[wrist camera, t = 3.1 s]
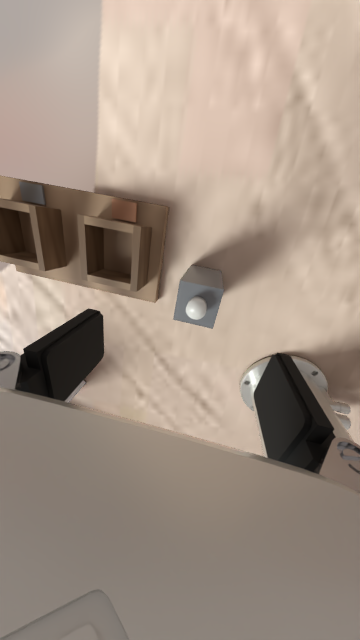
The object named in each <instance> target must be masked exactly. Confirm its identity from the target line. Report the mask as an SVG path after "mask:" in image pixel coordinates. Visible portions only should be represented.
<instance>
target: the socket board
mask: <svg viewBox="0 0 360 640" xmlns="http://www.w3.org/2000/svg"><path fill="white" fill-rule="evenodd" d="M168 211H169V207H167V206H162V205H157V204H151V203H146V202H141V201H135V200H130V199H124V198H119V197H113V196H108V195H103V194H97V193H92V192H86V191H81V190H76V189H70V188H65V187H59V186H54V185H49V184H43V183H38V182H32V181H27V180H21V179H16V178H10V177H5V176H0V261H1V262H6V263H10V264H15V265H16V270H17V271H18V272H23V273H27V274H32V275H36V276H40V277H45V278H49V279H53V280H58V281H62V282H67V283H71V284H75V285H80V286H84V287H88V288H93V289H97V290H102V291H106V292H110V293H115V294H119V295H123V296H128V297H132V298H136V299H141V300H145V301H150V302H154V303H155V302H156V301H157V300H158V292H159V284H160V276H161V268H162V260H163V251H164V243H165V235H166V227H167V219H168Z"/></svg>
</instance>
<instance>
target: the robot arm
mask: <svg viewBox="0 0 360 640" xmlns="http://www.w3.org/2000/svg"><path fill="white" fill-rule="evenodd" d="M23 350H24V354H22V355H21V356H20V355H19V354H18V353H15V352H9V351H4V352H0V640H360V446H359V445H358V444H356V443H355V442H354V441H353V439H352V438H351V436H350V435H349V433H348V432H347V430H346V429H349V428H350V426H351V422H350V419H349V418H348V417H347V416H345V415H341V414H337V413H335V412H334V411H337V412H340V413H344V414H349V413H350V407H349V405H348V404H344V403H340V402H334V401H333V400H332V399H331V398H330V396H329V395H328V393H327V391H328V383H327V380H326V378H325V376H324V374H323V373H322V372H321V370H320V369H319V368H318V367H317V366H316V365H315V364H313V363H312V362H310V361H308V360H306V359H303V358H300V357H296V356H289V355H285V354H281V353H277V354H276V355H272V356H271V357H268V358H265V359H262V360H260V361H258V362H256V363H254V364H253V365H252V366H250V367H249V368H248V369H247V370H246V371H245V373H244V374H243V376H242V378H241V381H240V392H241V397H242V399H243V401H244V402H245V404H246V405H247V406H248V407H249V408H250V409H251V410H253V411H254V412H255V417H256V422H257V426H258V431H259V436H260V440H261V445H262V450H263V454H264V457H263V456H260V455H256V454H253V453H249V452H246V451H242V450H238V449H235V448H231V447H228V446H224V445H221V444H217V443H214V442H210V441H207V440H203V439H199V438H196V437H192V436H189V435H185V434H181V433H178V432H174V431H171V430H167V429H163V428H160V427H156V426H153V425H149V424H145V423H142V422H138V421H134V420H131V419H127V418H123V417H120V416H116V415H112V414H109V413H105V412H101V411H97V410H94V409H90V408H86V407H83V406H79V405H75V404H71V403H68V402H65V400H66V399H67V398H68V397H69V396H70V395H71V394H72V392H73V391H74V390H75V389H76V388H77V387H78V386H79V384H80V383H81V382H82V381H83V380H84V379H85V378H86V376H87V375H88V374H89V373H90V372H91V371H92V370H93V368H94V367H95V366H96V365H97V364H98V363H99V362H100V360H101V359H102V358H103V355H104V334H103V315H102V314H101V313H100V311H97V310H93V309H87V310H85V311H84V312H82V313H80V314H79V315H77V316H76V317H74V318H72V319H71V320H69V321H68V322H66V323H64V324H63V325H61V326H59V327H58V328H56V329H55V330H53V331H51V332H50V333H48V334H47V335H45V336H43V337H42V338H40V339H39V340H37V341H35V342H34V343H32V344H30V345H29V346H27V347H26V348H24V349H23Z"/></svg>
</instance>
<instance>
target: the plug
mask: <svg viewBox="0 0 360 640" xmlns="http://www.w3.org/2000/svg"><path fill="white" fill-rule="evenodd" d="M223 292H224V286H223V279H222V272H221V271H219V270H214V269H210V268H205V267H200V266H195V265H191V266H190V268H189V269H188V270H187V272H186V273H185V274H184V276H183V277H182V278H181V280H180V284H179V289H178V295H177V301H176V307H175V312H174V318H173V319H174V320H178V321H182V322H186V323H191V324H195V325H199V326H203V327H208V328H212V329H213V326H214V323H215V319H216V316H217V313H218V309H219V306H220V302H221V299H222V295H223Z"/></svg>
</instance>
